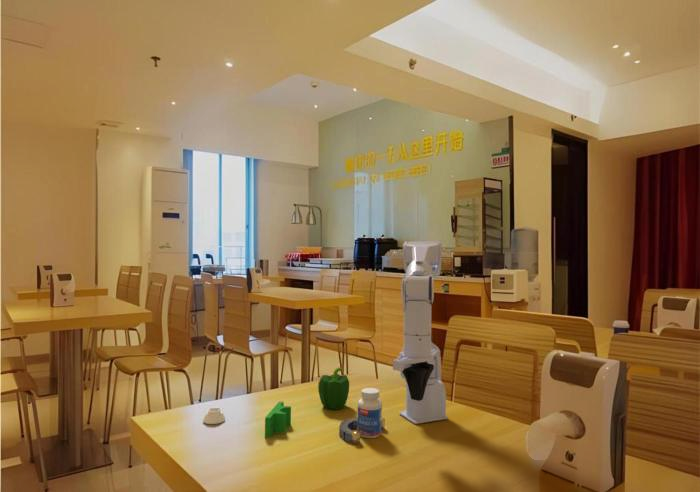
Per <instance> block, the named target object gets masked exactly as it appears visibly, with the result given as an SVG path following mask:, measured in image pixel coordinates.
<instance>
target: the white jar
mask: <svg viewBox="0 0 700 492" xmlns="http://www.w3.org/2000/svg"><path fill="white" fill-rule="evenodd" d="M225 420H226V416H225V414H224V412H223V411H222V408H221V407H217V406H216V407H210V408H208V409H207V412H206V413H205V415H204V417H203V419H202V422H203V423H204V424H207V425H217V424H221V423H223V422H225Z"/></svg>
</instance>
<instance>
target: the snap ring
mask: <svg viewBox="0 0 700 492" xmlns="http://www.w3.org/2000/svg"><path fill="white" fill-rule="evenodd" d="M385 420H386V419H385V418H384V417H382V421H381V431H384V430H385V428H386V427H385V426H386V425H385V423H386V422H385ZM357 421H358V416H357V417H353V418H352V417H351V418H348V419H346V420H345V419H344V421H341V422H340V424H339V428H338V429H339V431H338V432H339V434H338V435H339V437H340V439H342V440H344V441H345V442H349V443H351V444H352V445H360V444H361V436H360V431H357V430H356V429H357ZM354 429H355V430H354Z"/></svg>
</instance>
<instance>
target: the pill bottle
mask: <svg viewBox="0 0 700 492" xmlns="http://www.w3.org/2000/svg"><path fill="white" fill-rule="evenodd" d="M360 391H361V398H360V399H359V400H358V401H357V417H358V421H357V428H356V429H357V430H356V431H360V438H361V437H362V438H364V439H375V438H378V437H380V436H381V434H382V430H381V421H382V418H383V417H382V416H383V415H382V414H383V413H382V411H383V403H382V401H381V400H380V399H379V398H380V390H379V389H378V388H373V387H366V388H363V389H361V390H360Z"/></svg>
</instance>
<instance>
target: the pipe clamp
mask: <svg viewBox="0 0 700 492" xmlns="http://www.w3.org/2000/svg"><path fill="white" fill-rule="evenodd" d="M284 404H285V403H284V401H278V402H277V403H276V405H274V406H273V407H272V409H271V410H270V411H269V413H268V414H266V416H265V417H264V418H265V419H264V438H265V439H270V438H271V436H273V434H286V433H287V432H286V431H287V427H290V426H291V421H292V406H291V405H284Z"/></svg>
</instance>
